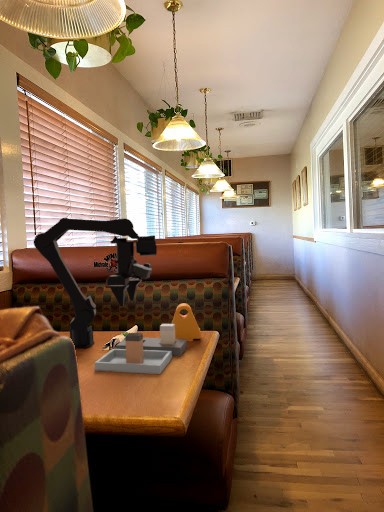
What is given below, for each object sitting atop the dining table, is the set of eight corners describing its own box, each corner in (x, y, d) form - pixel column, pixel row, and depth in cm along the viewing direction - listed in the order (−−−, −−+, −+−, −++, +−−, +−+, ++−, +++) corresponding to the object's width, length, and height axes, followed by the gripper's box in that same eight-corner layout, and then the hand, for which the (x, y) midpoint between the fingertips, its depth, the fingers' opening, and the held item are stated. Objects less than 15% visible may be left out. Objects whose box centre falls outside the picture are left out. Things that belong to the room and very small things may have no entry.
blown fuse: (126, 364, 101) (125, 335, 101) (130, 360, 104) (129, 332, 104) (140, 365, 101) (139, 335, 100) (143, 361, 103) (142, 333, 103)
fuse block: (116, 353, 113) (116, 345, 112) (127, 344, 121) (127, 337, 121) (180, 355, 109) (180, 347, 108) (187, 346, 117) (187, 338, 117)
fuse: (160, 351, 113) (159, 325, 113) (163, 349, 116) (162, 323, 115) (173, 352, 112) (172, 326, 112) (175, 349, 115) (174, 324, 114)
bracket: (199, 335, 131) (198, 301, 130) (200, 340, 124) (199, 305, 123) (169, 336, 131) (168, 302, 130) (168, 342, 123) (167, 306, 123)
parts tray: (94, 370, 98) (94, 362, 98) (113, 356, 110) (112, 348, 110) (160, 374, 95) (159, 365, 95) (171, 358, 106) (171, 351, 106)
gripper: (138, 258, 112) (140, 309, 113) (157, 254, 131) (158, 298, 132) (104, 258, 115) (106, 308, 116) (127, 255, 133) (128, 298, 134)
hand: (127, 303), depth 124 cm, fingers open, 9 cm apart
